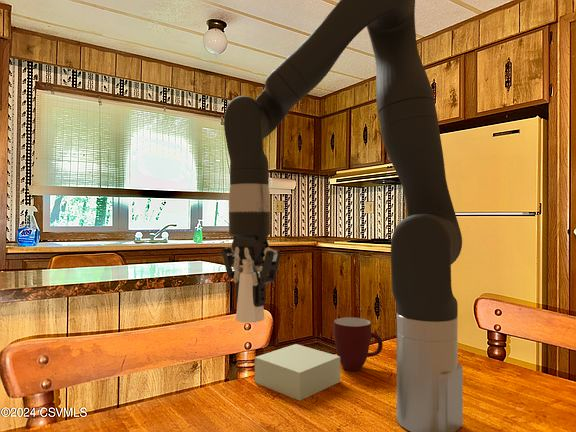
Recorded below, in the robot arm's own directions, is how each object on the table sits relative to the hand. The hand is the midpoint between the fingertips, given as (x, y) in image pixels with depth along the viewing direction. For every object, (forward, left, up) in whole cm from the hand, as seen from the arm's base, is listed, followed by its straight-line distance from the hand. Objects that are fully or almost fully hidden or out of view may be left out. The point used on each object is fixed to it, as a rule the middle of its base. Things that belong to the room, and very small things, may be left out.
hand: (250, 303), depth 77 cm
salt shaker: (0, 0, -3) cm, 3 cm away
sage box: (-2, -11, -17) cm, 20 cm away
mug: (-6, -26, -17) cm, 32 cm away
